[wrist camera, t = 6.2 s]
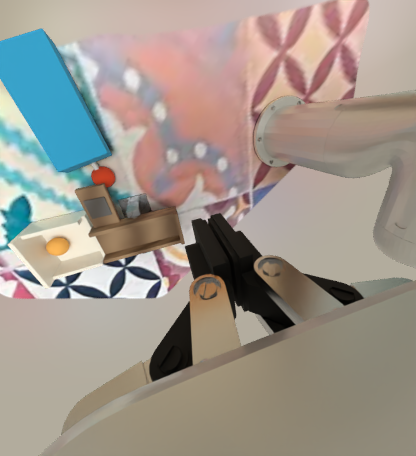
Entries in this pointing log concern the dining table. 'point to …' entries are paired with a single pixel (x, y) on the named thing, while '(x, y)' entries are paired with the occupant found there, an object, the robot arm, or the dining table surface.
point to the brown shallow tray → (127, 226)
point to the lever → (52, 104)
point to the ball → (57, 246)
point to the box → (64, 264)
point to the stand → (135, 206)
